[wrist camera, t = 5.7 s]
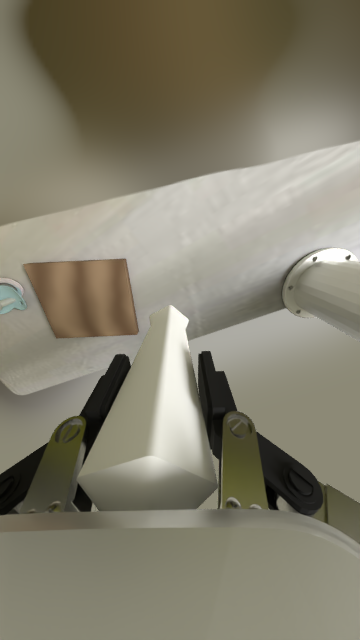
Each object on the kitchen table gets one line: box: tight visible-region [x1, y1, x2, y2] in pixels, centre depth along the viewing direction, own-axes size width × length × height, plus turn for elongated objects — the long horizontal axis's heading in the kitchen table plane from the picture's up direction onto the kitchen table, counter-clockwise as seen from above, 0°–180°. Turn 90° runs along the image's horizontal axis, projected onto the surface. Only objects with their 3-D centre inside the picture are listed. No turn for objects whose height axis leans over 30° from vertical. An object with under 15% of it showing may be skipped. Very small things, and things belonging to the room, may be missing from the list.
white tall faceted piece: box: [76, 305, 218, 511], centre depth 10 cm, size 5×4×15 cm
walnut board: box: [23, 259, 139, 338], centre depth 30 cm, size 16×14×2 cm
